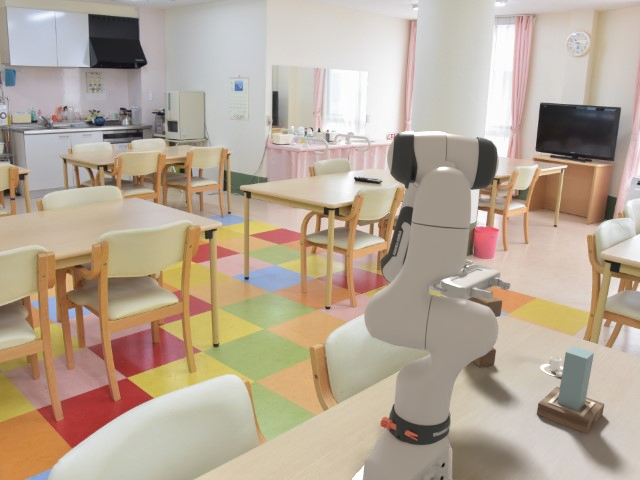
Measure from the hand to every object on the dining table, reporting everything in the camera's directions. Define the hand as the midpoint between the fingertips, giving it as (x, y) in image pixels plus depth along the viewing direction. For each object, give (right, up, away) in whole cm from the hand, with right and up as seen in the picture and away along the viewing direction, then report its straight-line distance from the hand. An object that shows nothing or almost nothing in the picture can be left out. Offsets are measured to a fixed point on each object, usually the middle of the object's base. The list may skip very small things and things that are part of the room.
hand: (500, 291), depth 147 cm
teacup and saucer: (+21, -26, +24) cm, 41 cm away
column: (+18, -28, +2) cm, 34 cm away
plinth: (+18, -31, +3) cm, 36 cm away
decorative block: (+2, -23, +31) cm, 39 cm away
